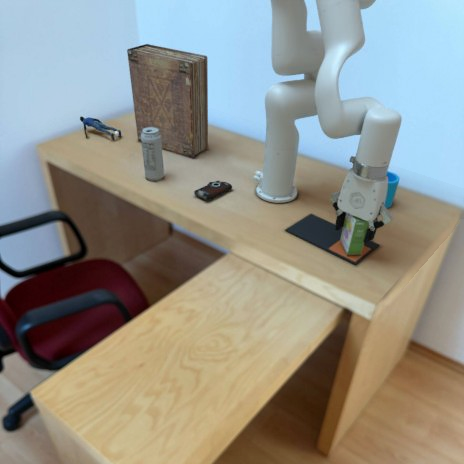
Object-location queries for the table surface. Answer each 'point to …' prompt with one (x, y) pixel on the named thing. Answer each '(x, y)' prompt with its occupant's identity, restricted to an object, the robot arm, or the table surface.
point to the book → (171, 96)
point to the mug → (391, 188)
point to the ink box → (353, 234)
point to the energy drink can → (152, 153)
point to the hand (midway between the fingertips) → (353, 234)
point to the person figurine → (99, 126)
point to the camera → (213, 190)
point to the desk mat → (327, 238)
